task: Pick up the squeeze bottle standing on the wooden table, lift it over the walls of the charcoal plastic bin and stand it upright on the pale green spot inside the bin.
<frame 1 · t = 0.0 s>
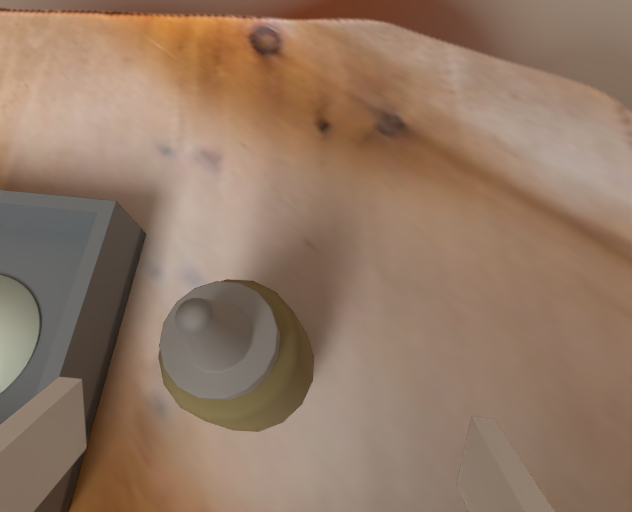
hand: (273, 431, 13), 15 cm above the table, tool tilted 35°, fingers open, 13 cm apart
squeeze bottle: (259, 369, 28), on the table
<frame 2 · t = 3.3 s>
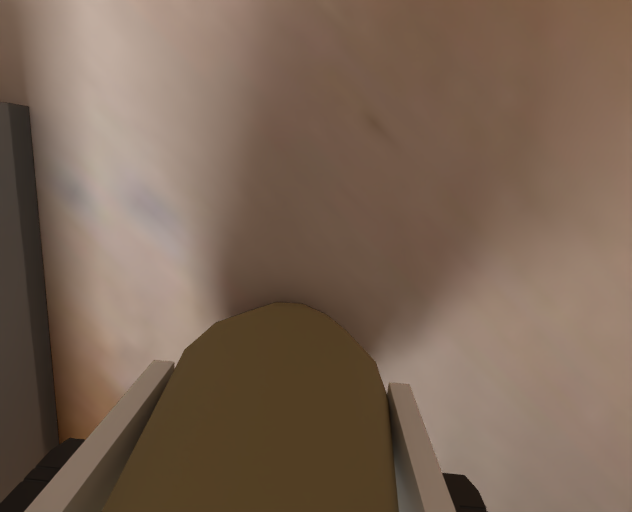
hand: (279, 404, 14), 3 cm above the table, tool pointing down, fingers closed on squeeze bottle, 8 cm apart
squeeze bottle: (288, 357, 18), on the table, touching gripper
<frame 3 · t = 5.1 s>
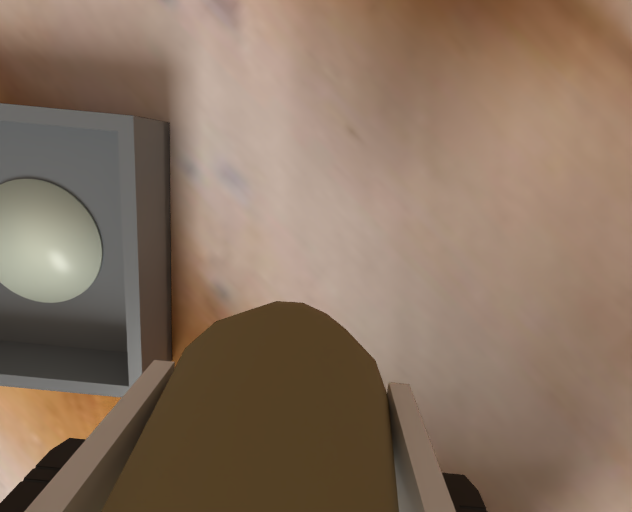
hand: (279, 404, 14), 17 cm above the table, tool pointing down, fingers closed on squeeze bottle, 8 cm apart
squeeze bottle: (288, 356, 18), point 14 cm above the table, touching gripper
bin: (48, 240, 31), on the table
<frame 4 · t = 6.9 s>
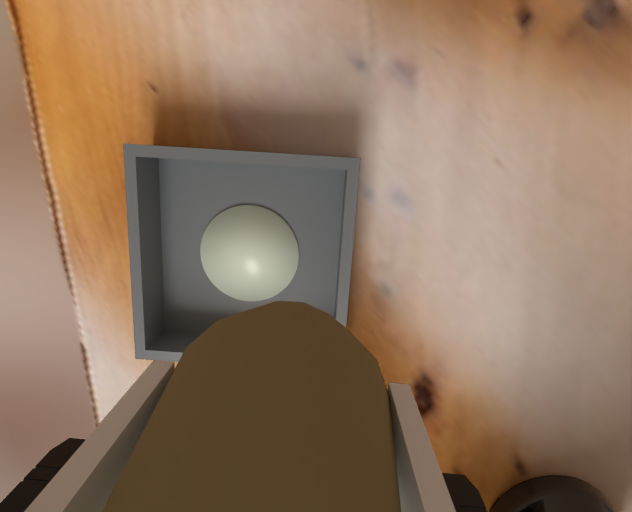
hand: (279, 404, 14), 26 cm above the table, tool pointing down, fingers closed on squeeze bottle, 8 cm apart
squeeze bottle: (289, 356, 18), point 22 cm above the table, touching gripper
bin: (251, 252, 40), on the table
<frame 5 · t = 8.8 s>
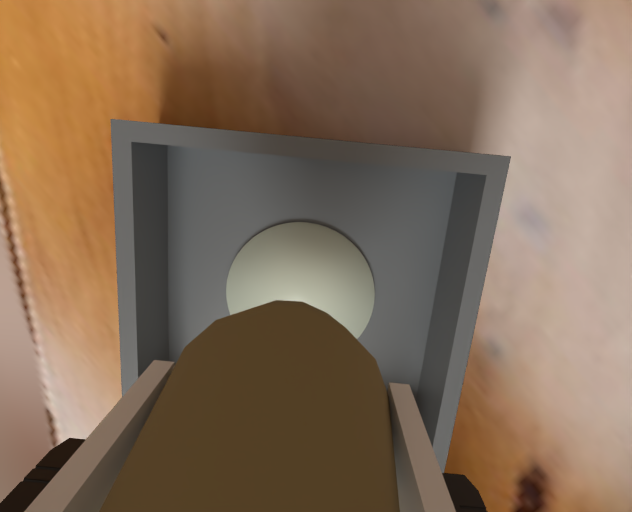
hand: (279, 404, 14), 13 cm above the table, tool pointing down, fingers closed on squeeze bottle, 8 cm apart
squeeze bottle: (288, 356, 18), point 9 cm above the table, touching gripper
bin: (301, 290, 27), on the table
when the fingers open (6 cm above the table, at t = 10.6 s): squeeze bottle drops 2 cm, resting on bin.
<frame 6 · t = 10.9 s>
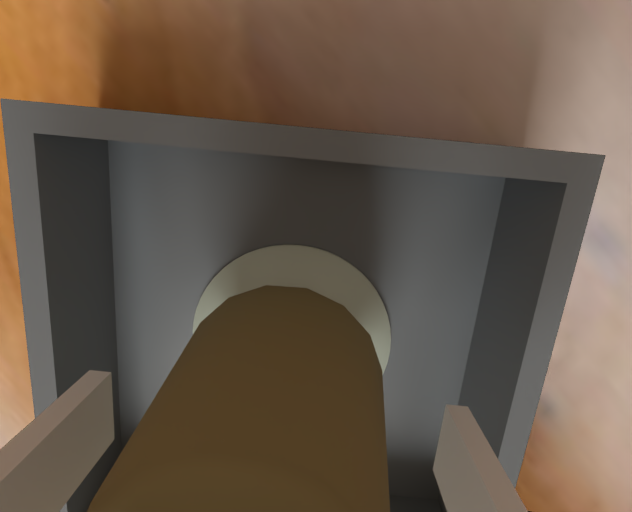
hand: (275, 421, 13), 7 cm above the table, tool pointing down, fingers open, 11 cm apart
squeeze bottle: (292, 341, 19), point 1 cm above the table, touching bin
bin: (293, 331, 20), on the table
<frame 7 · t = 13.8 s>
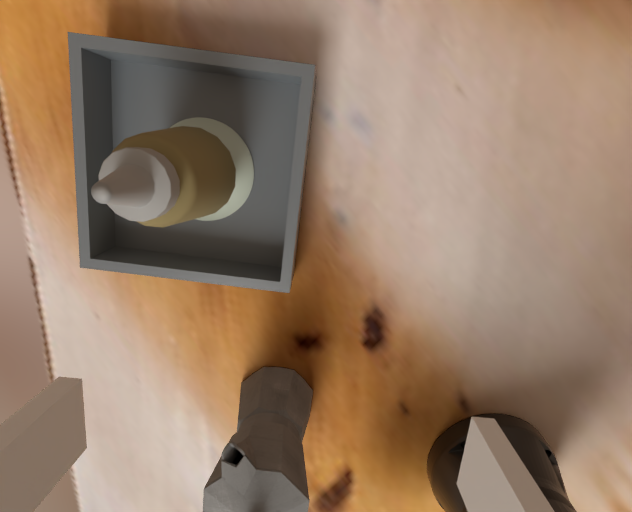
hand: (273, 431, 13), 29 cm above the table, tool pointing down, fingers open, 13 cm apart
squeeze bottle: (204, 170, 38), point 1 cm above the table, touching bin
bin: (206, 170, 39), on the table
coffeepot: (279, 403, 47), on the table
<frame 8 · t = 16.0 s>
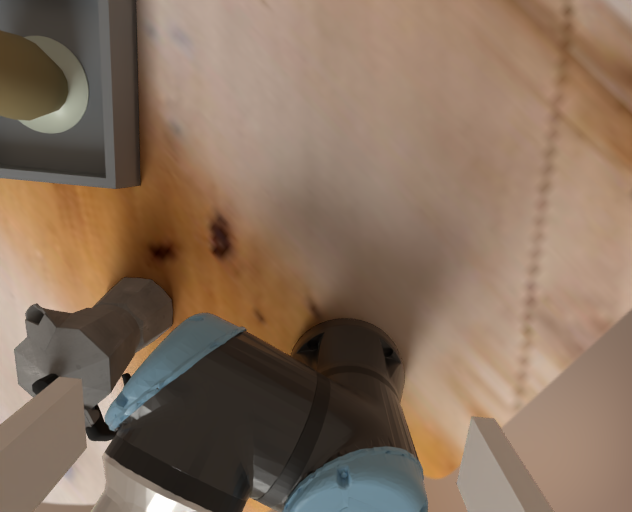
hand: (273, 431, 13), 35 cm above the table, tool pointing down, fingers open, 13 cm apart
squeeze bottle: (44, 85, 42), point 1 cm above the table, touching bin
bin: (50, 87, 43), on the table
coffeepot: (144, 315, 50), on the table
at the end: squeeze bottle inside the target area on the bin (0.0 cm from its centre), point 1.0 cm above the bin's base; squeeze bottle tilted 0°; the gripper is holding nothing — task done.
